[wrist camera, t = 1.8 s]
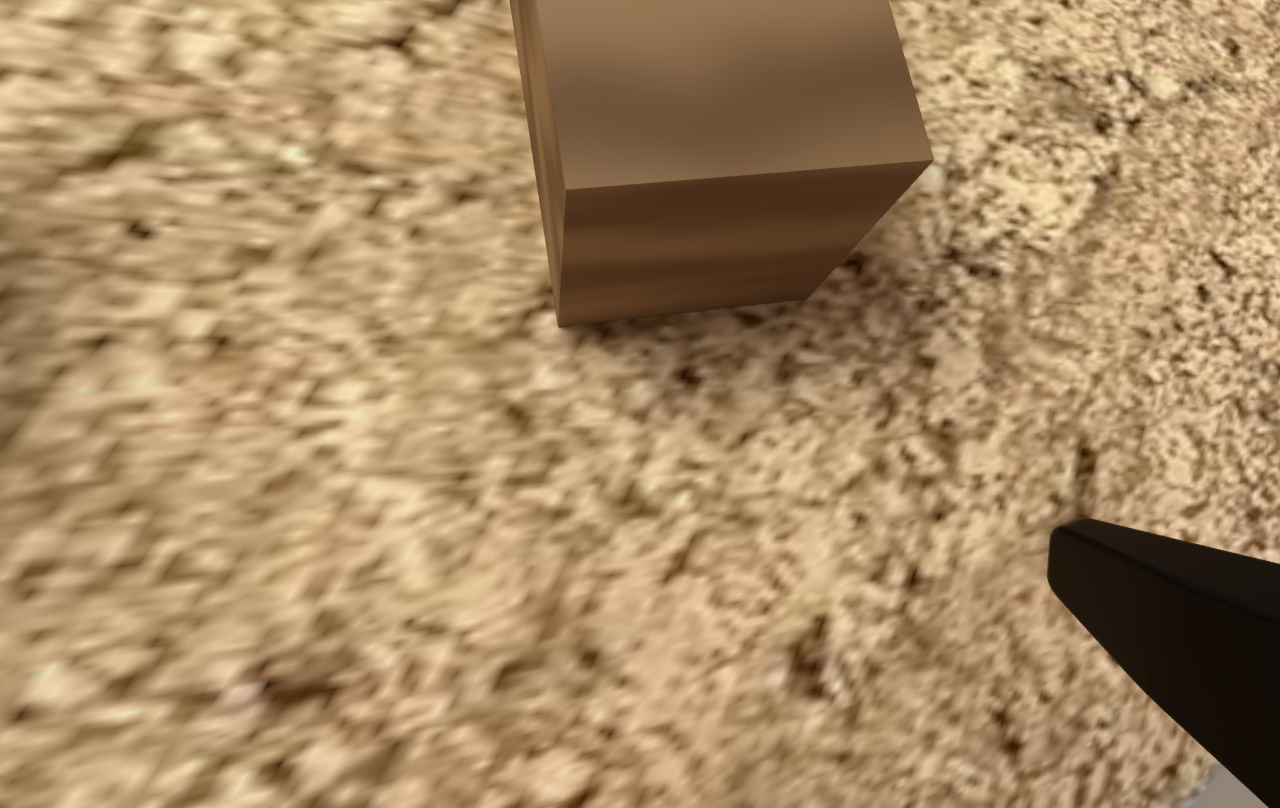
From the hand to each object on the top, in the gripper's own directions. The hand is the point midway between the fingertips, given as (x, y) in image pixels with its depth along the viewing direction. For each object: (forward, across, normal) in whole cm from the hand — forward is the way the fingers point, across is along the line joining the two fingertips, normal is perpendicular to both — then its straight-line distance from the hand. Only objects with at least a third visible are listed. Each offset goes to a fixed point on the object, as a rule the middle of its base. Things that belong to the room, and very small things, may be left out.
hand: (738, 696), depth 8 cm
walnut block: (+22, -8, -4) cm, 24 cm away
